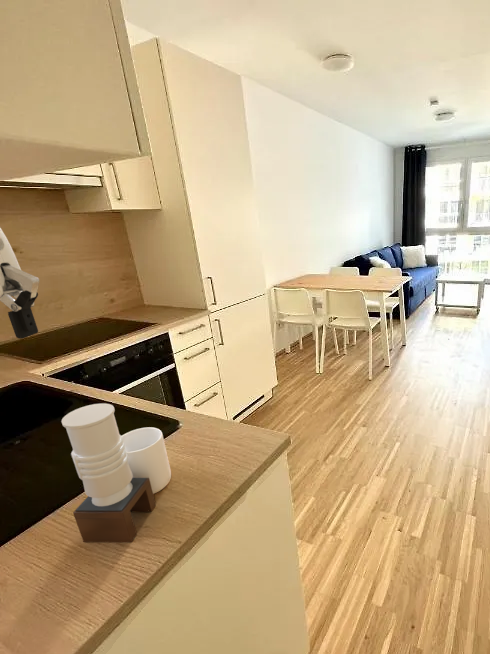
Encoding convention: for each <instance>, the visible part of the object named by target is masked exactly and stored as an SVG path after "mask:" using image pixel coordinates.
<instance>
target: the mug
mask: <svg viewBox="0 0 490 654" xmlns="http://www.w3.org/2000/svg"><path fill="white" fill-rule="evenodd" d="M121 436H122V437H123V442H124V444H125V449H126V451H127V455H128V464H129V467H130V469H131V472H132V474H133V476H132V478H149V480H150V484H151V488H152V491H153V495H155V494H157V493H159V492H160V491H161V490H163V489H164V488H166V486H167V485H168V484H169V483H170V482H171V478H172V470H171V465H170V461H169V457H168V452H167V447H166V443H165V439H164V435H163V432H162V430H160V429H159V428H157V427H152V426H151V427H150V426H149V427H147V426H146V427H141V428H136V429H133V430H130V431H128V432H126V433H124V434H122V435H121Z"/></svg>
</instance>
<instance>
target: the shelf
mask: <svg viewBox="0 0 490 654" xmlns="http://www.w3.org/2000/svg"><path fill="white" fill-rule="evenodd" d="M130 483H131V484H132V485H133V486H132V490H131V492H130V493H129V495H128V496H126V497H125V498H124V499H122V500H121V501H119V502H117V503H115V504H112V505H108V506H96V505H94V504H93V503H92V497H89V496H86V498H85V499H84V500H83V501H82V502H81V503H80V504H79V505H78V506H77V507H76V508H75V510H74V511H72V514H73V517H74V519H75V523H76V526H77V527H78V530H79V533H80V536H81V539H82V541H83V543H132V542H133V541H134V539H135V538H136V536H137V534H138V533H137V530H136V526H135V523H134V520H133V516H132V513H133V512H134V513H136V512H137V513H138V512H139V513H141V512H143V513H145V512H146V513H148V512H149V513H151V512H153V510H154V509H155V508H156V506H157V502H156V500H155V496H154V495H155V494H153V491H152V488H151V484H150V480H149V478H132V480H131V482H130ZM131 512H132V513H131Z"/></svg>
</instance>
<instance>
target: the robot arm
mask: <svg viewBox="0 0 490 654" xmlns="http://www.w3.org/2000/svg"><path fill="white" fill-rule="evenodd" d="M39 287H40V278H39V277H37V276H35V275H33V274H31V273H28V272H26V271H24V270H22V269H21V267H20V263H19V262H18V259H17V256H16V254H15V252H14V250H13V247H12V246H11V244H10V241H9V240H8V237H7V236H6V234H5V233H4V231H3V229H2V228H1V227H0V302H1V303H3V305H5V306H6V307H7V308H9V309H10V311H8V312H7V315H8V318H9V321H10V324H11V327H12V330H13V333H14V335H15V337H16V338H17V339H25V338H28V337H32V336H33V335H36V334H38V333H39V328H38V325H37V322H36V320H35V316H34V314H33V310H32V308H33V307H35V301H36V300H37V298H38V296H39V293H38V291H39Z"/></svg>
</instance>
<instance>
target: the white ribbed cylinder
mask: <svg viewBox="0 0 490 654" xmlns="http://www.w3.org/2000/svg"><path fill="white" fill-rule="evenodd" d="M115 411H116V410H115V407H114V405H113V404H110V403H106V402H105V403H93V404H89V405H85V406H82V407H81V406H80V407H79V408H76V409H74V410H72V411H70V412H68V413H67V414H66V415H64V416H63V417H62V419H61V421H60V422H61V424H62V427H64V429H66V433H67V436H68V439H69V442H70V445H71V447H72V451H71V453H70V456H71V458H72V462H73V464H74V467H75V470H76V473H77V476H78V478H79V479H80V480H81V481H82V484H83V489H84V493H85V495H86V497H88V496H89V497H92V503H93V504H94V505H96V506H108V505H112V504H115V503H117V502H119V501H121V500H122V499H124V498H125V497H126V496H128V495H129V493H130V492H131V490H132V486H133V485H132V484H131V483H130V482H131V480H132V476H133V474H132V472H131V469H130V467H129V464H128V455H127V451H126V449H125V444H124V442H123V437H122V435H121V434H120V431H119V427H118V424H117V420H116V417H115Z"/></svg>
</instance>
